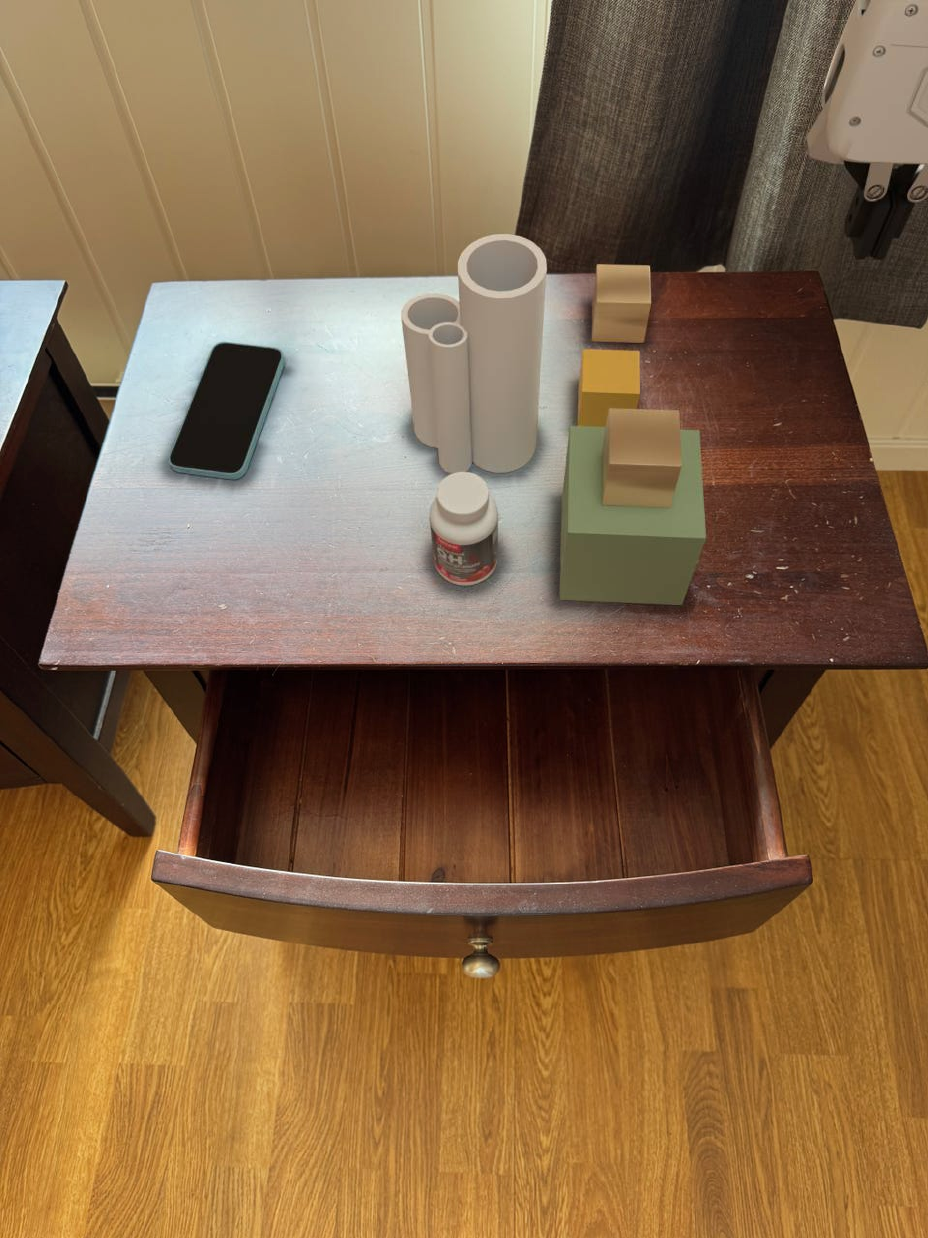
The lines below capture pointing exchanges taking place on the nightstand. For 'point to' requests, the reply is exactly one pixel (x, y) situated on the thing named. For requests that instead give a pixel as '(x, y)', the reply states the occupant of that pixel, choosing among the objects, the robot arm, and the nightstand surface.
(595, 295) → the far maple block
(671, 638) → the nightstand surface
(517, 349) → the vase
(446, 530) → the pill bottle
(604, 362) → the mustard block
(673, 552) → the stand
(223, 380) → the smartphone
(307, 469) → the nightstand surface
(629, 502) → the near maple block
